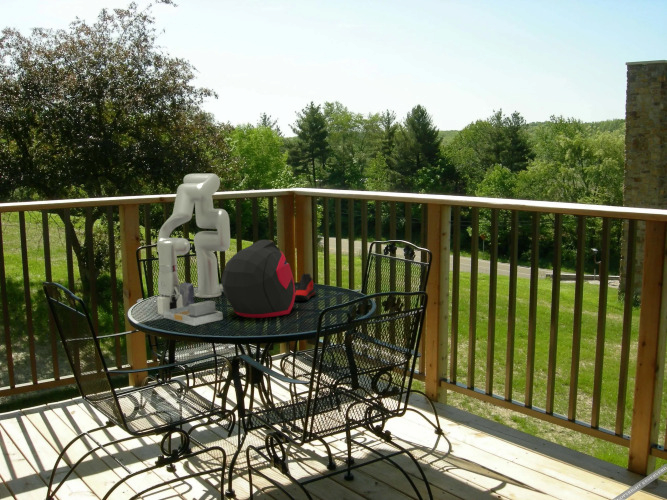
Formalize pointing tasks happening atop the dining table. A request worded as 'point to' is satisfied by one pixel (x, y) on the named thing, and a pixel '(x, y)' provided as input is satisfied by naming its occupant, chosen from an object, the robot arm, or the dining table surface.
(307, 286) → the athletic shoe
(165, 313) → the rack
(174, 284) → the robot arm
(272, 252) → the helmet
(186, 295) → the rock
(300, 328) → the dining table surface
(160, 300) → the off-white rectangular block
